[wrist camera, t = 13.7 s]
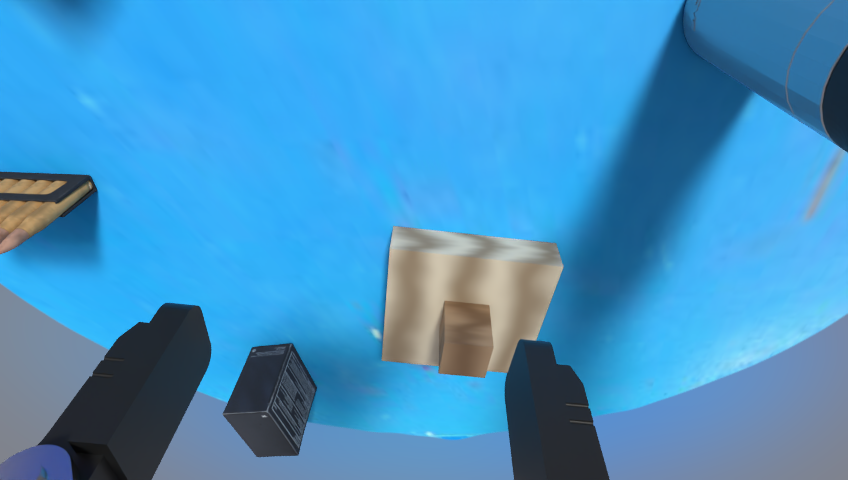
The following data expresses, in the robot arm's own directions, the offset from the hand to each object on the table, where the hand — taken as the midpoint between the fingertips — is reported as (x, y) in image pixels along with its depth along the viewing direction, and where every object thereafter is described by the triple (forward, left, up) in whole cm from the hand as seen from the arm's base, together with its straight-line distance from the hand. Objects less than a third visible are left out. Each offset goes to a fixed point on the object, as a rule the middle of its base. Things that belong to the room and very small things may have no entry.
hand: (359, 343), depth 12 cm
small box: (+15, +47, -33) cm, 60 cm away
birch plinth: (-8, +29, -33) cm, 45 cm away
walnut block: (-8, +29, -29) cm, 42 cm away
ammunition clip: (+38, +19, -33) cm, 54 cm away
